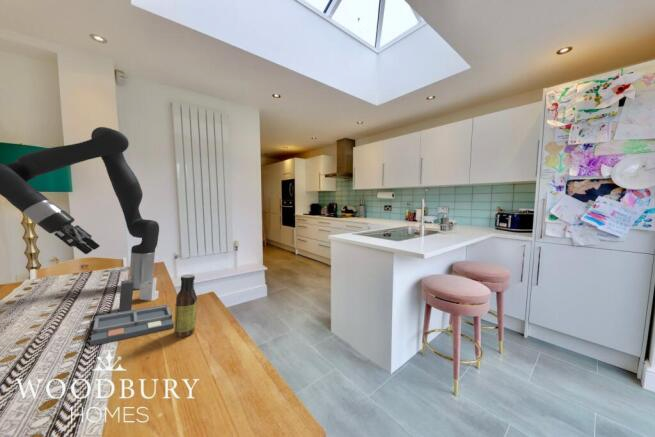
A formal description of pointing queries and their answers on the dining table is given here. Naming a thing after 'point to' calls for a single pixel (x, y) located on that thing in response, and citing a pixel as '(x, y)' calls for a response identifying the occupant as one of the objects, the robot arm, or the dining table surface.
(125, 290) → the plug
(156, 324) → the grey tray
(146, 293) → the white wedge bracket
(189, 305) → the sauce bottle
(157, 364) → the dining table surface
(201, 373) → the dining table surface
